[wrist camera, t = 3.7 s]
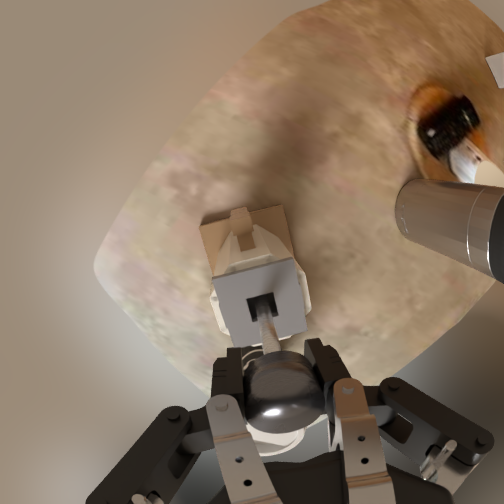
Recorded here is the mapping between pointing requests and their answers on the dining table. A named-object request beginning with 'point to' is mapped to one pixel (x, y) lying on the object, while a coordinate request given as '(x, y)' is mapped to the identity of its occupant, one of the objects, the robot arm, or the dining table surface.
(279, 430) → the plunger
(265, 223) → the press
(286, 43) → the dining table surface
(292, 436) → the coffee cup
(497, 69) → the milk carton
